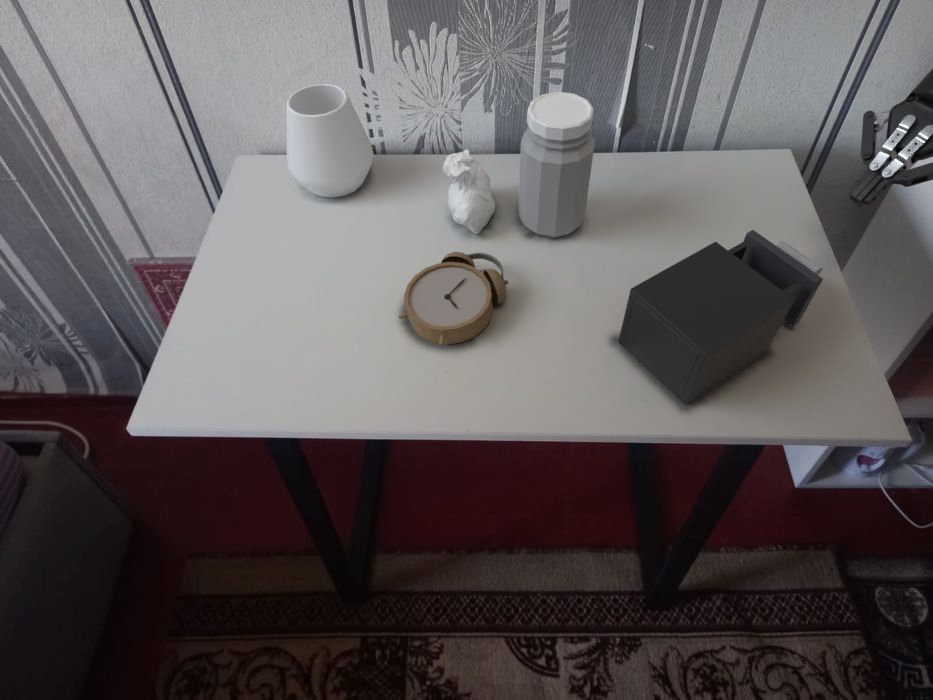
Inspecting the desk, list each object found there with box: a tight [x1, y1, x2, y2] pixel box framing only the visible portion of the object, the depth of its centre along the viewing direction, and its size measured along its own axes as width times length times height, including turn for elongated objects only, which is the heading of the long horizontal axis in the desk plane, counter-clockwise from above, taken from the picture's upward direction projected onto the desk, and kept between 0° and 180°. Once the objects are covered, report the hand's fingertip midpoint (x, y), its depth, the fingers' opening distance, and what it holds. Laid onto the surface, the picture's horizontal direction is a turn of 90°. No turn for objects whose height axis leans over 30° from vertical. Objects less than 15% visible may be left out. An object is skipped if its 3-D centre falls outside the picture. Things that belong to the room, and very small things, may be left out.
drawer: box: [727, 229, 824, 328], centre depth 80 cm, size 17×10×8 cm, turn 123°
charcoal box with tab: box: [618, 241, 794, 406], centre depth 77 cm, size 14×12×10 cm
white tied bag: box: [442, 148, 496, 235], centre depth 94 cm, size 12×8×11 cm
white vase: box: [286, 83, 375, 199], centre depth 99 cm, size 13×13×14 cm
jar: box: [517, 91, 596, 239], centre depth 90 cm, size 10×10×18 cm
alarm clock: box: [398, 251, 509, 346], centre depth 85 cm, size 11×5×15 cm
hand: (854, 202), depth 80 cm, fingers closed
